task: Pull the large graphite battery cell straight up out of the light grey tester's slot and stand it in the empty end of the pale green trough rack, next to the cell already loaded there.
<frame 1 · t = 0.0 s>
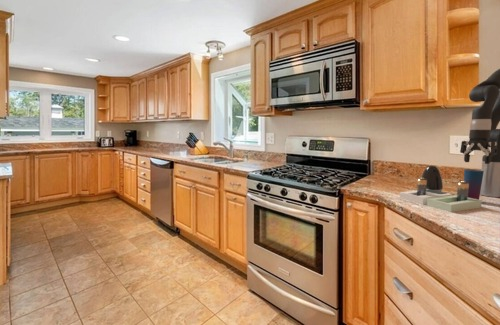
hand: (476, 163, 127), 17 cm above the worktop, tool pointing down, fingers open, 8 cm apart
trough rack: (453, 207, 113), on the worktop
cup: (471, 202, 121), on the worktop
loaded cell: (461, 205, 115), point 1 cm above the worktop, touching trough rack
black tapered dome: (430, 194, 138), on the worktop
battery tester: (424, 200, 126), on the worktop
cell: (421, 199, 125), point 1 cm above the worktop, touching battery tester
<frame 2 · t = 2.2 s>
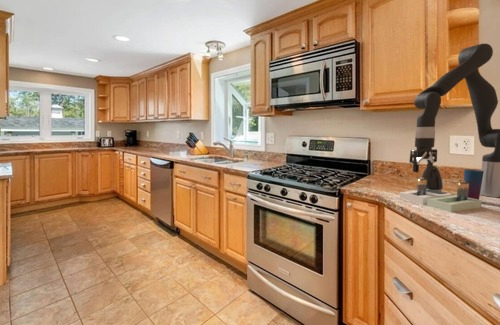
hand: (422, 171, 123), 14 cm above the worktop, tool pointing down, fingers open, 8 cm apart
nothing on the worktop moved.
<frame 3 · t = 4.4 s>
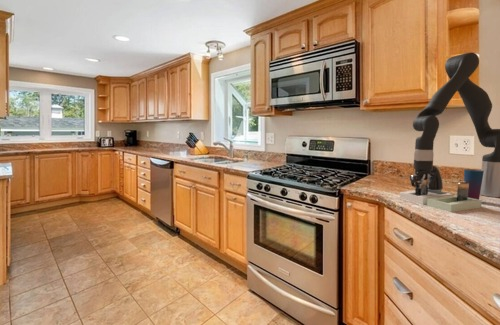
hand: (421, 195, 124), 3 cm above the worktop, tool pointing down, fingers closed on cell, 3 cm apart
cell: (421, 199, 125), point 1 cm above the worktop, touching battery tester, gripper
everything else where it was.
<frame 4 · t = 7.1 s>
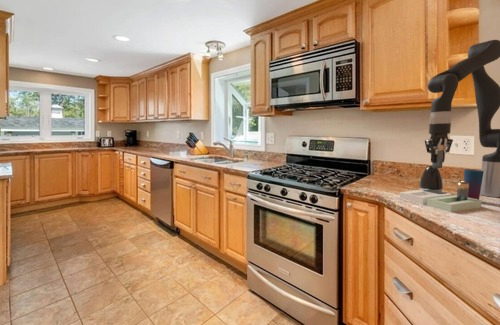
hand: (437, 162, 115), 19 cm above the worktop, tool pointing down, fingers closed on cell, 3 cm apart
cell: (437, 167, 116), point 17 cm above the worktop, touching gripper
everything else where it was.
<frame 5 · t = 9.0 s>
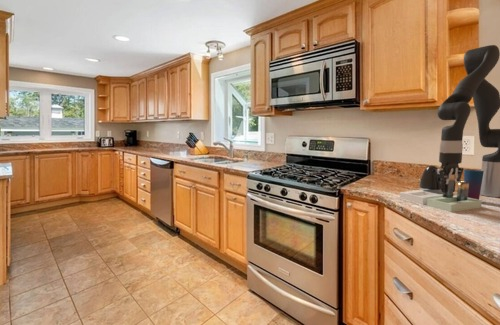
hand: (447, 191, 111), 7 cm above the worktop, tool pointing down, fingers closed on cell, 3 cm apart
cell: (447, 197, 111), point 5 cm above the worktop, touching gripper
everything else where it was.
when the fingers open (4 cm above the worktop, at t = 10.3 s): cell drops 1 cm, resting on trough rack.
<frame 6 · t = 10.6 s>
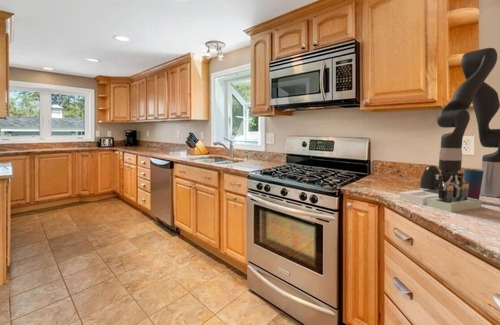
hand: (447, 197, 112), 5 cm above the worktop, tool pointing down, fingers open, 6 cm apart
cell: (446, 207, 112), point 1 cm above the worktop, touching trough rack
everything else where it was.
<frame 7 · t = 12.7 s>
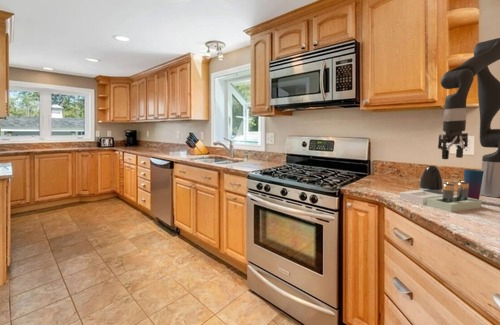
hand: (452, 158, 112), 21 cm above the worktop, tool pointing down, fingers open, 8 cm apart
nothing on the worktop moved.
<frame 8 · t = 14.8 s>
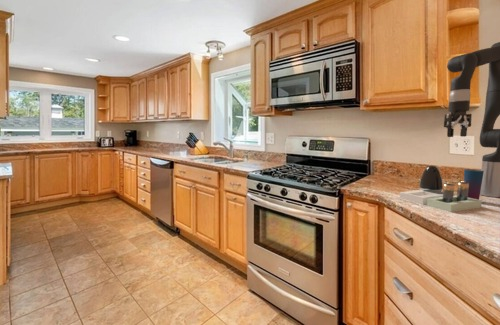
hand: (456, 136, 121), 30 cm above the worktop, tool pointing down, fingers open, 8 cm apart
nothing on the worktop moved.
at the end: cell 0.0 cm from the target spot on the trough rack, point 0.6 cm above the trough rack's base; cell tilted 1°; the gripper is holding nothing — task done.
